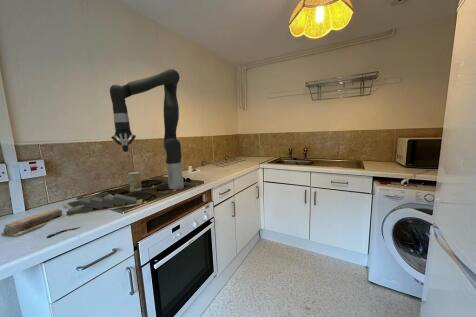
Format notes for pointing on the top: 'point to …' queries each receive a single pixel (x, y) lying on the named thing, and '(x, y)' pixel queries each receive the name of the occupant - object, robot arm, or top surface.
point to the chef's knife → (61, 232)
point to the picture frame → (75, 203)
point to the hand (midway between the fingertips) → (126, 151)
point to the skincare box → (135, 181)
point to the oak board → (112, 208)
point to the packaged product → (32, 223)
